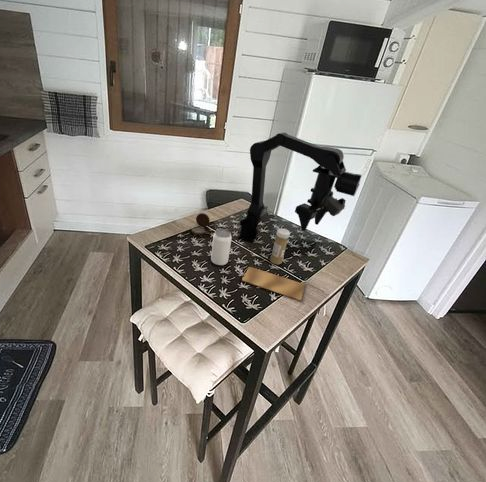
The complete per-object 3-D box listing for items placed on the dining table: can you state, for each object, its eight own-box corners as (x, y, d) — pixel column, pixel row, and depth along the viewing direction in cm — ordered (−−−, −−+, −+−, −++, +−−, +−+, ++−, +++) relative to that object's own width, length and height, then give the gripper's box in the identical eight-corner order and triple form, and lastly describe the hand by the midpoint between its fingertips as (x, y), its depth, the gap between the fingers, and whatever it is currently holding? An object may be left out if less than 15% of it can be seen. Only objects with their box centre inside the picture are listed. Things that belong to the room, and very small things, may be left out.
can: (230, 258, 106) (234, 230, 100) (225, 267, 100) (229, 239, 94) (213, 254, 107) (217, 226, 101) (208, 263, 102) (211, 234, 96)
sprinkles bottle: (283, 264, 106) (292, 233, 99) (272, 265, 105) (280, 234, 98) (278, 257, 110) (286, 227, 103) (267, 258, 108) (275, 227, 101)
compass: (188, 233, 119) (189, 217, 115) (196, 225, 125) (197, 211, 122) (205, 238, 117) (207, 222, 113) (213, 230, 123) (214, 215, 119)
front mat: (241, 280, 95) (241, 279, 95) (249, 267, 102) (249, 266, 102) (300, 301, 89) (301, 300, 89) (304, 285, 96) (304, 284, 96)
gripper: (331, 201, 85) (316, 244, 93) (357, 190, 96) (342, 230, 104) (300, 189, 92) (288, 230, 100) (328, 180, 103) (315, 218, 111)
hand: (309, 227), depth 104 cm, fingers open, 9 cm apart
